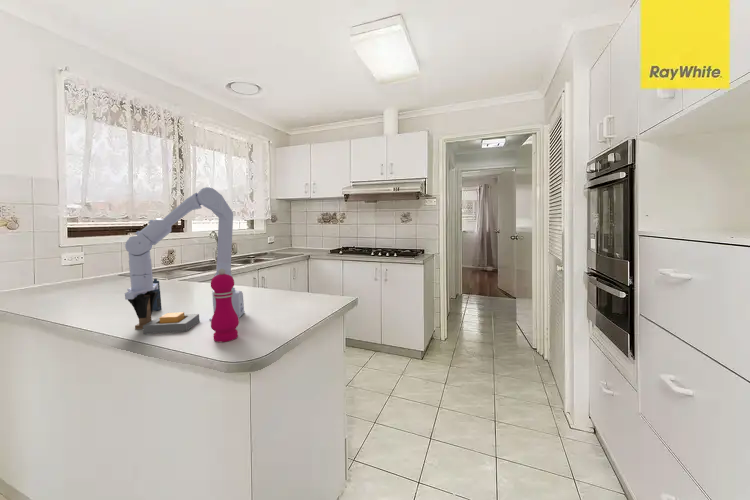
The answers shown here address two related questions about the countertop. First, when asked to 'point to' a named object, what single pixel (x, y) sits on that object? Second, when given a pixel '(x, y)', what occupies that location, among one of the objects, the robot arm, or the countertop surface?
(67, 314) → the countertop surface
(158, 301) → the vaping device
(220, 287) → the pepper mill
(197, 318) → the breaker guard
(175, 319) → the button
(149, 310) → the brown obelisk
